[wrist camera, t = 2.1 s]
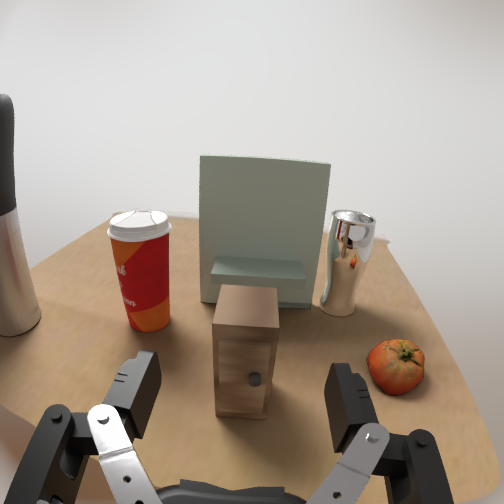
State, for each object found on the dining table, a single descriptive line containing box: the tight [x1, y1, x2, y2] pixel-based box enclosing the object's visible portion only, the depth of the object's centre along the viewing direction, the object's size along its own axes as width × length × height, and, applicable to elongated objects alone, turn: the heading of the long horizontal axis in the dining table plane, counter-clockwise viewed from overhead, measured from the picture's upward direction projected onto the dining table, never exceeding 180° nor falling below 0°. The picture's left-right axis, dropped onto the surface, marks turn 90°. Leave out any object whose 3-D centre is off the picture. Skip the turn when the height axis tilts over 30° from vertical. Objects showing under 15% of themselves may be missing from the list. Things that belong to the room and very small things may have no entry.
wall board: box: [199, 154, 331, 309], centre depth 41 cm, size 17×10×22 cm, turn 88°
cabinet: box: [212, 284, 279, 419], centre depth 26 cm, size 5×7×12 cm
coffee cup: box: [107, 211, 172, 332], centre depth 38 cm, size 8×8×15 cm
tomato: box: [366, 339, 425, 396], centre depth 32 cm, size 8×7×7 cm
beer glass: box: [318, 210, 376, 317], centre depth 44 cm, size 7×7×15 cm
